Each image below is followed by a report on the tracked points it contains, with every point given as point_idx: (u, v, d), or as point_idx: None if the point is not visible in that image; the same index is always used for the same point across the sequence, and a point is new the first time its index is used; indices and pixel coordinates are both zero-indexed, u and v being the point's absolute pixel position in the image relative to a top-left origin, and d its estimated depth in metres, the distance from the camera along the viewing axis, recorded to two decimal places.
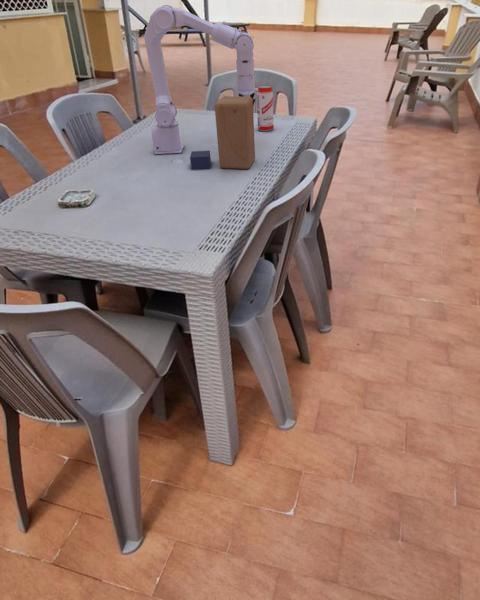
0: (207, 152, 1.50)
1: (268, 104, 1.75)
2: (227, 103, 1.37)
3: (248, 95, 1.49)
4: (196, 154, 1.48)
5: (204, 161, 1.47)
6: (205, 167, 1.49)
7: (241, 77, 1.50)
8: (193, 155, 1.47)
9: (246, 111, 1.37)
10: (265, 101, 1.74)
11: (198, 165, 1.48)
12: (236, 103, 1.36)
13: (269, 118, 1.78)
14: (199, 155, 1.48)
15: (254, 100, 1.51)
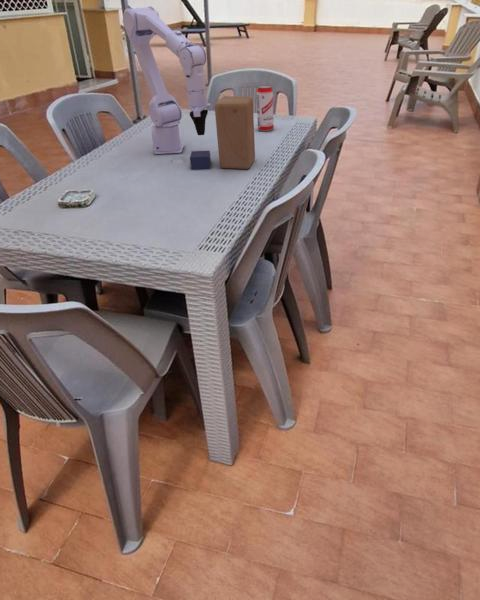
0: (207, 152, 1.50)
1: (268, 104, 1.75)
2: (227, 103, 1.37)
3: (198, 112, 1.40)
4: (196, 154, 1.48)
5: (204, 161, 1.47)
6: (205, 167, 1.49)
7: (191, 92, 1.41)
8: (193, 155, 1.47)
9: (246, 111, 1.37)
10: (265, 101, 1.74)
11: (198, 165, 1.48)
12: (236, 103, 1.36)
13: (269, 118, 1.78)
14: (199, 155, 1.48)
15: (206, 114, 1.45)
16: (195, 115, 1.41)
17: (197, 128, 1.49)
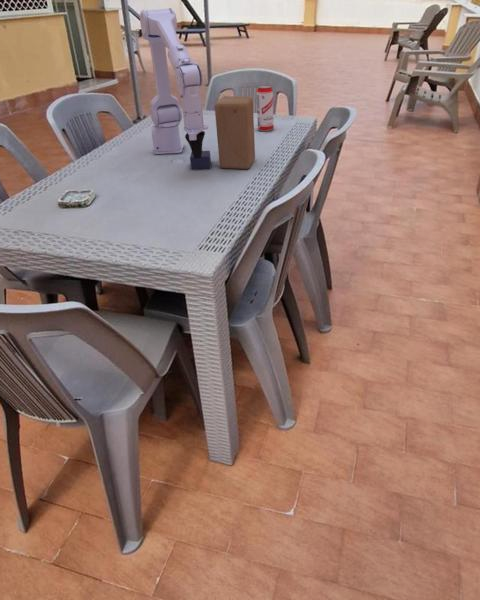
0: (207, 152, 1.50)
1: (268, 104, 1.75)
2: (227, 103, 1.37)
3: (194, 135, 1.31)
4: None
5: (204, 161, 1.47)
6: (205, 167, 1.49)
7: (186, 114, 1.32)
8: None
9: (246, 111, 1.37)
10: (265, 101, 1.74)
11: (198, 165, 1.48)
12: (236, 103, 1.36)
13: (269, 118, 1.78)
14: None
15: (203, 136, 1.36)
16: (191, 138, 1.31)
17: (193, 151, 1.40)
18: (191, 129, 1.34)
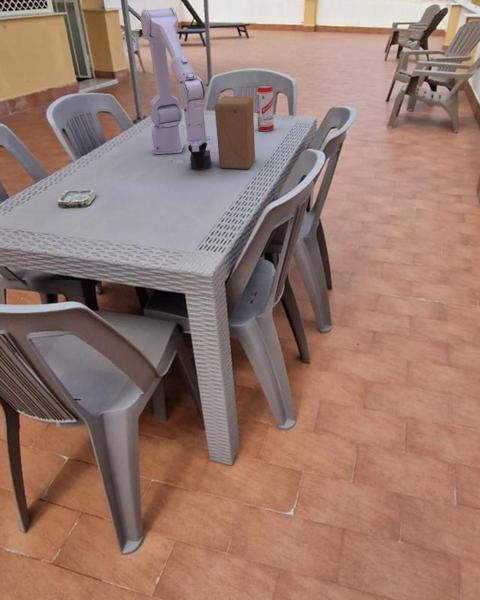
0: (207, 152, 1.50)
1: (268, 104, 1.75)
2: (227, 103, 1.37)
3: (197, 146, 1.36)
4: None
5: (204, 160, 1.48)
6: (205, 167, 1.49)
7: (189, 126, 1.38)
8: None
9: (246, 111, 1.37)
10: (265, 101, 1.74)
11: None
12: (236, 103, 1.36)
13: (269, 118, 1.78)
14: None
15: (205, 148, 1.41)
16: (194, 150, 1.37)
17: (196, 161, 1.45)
18: (194, 141, 1.40)
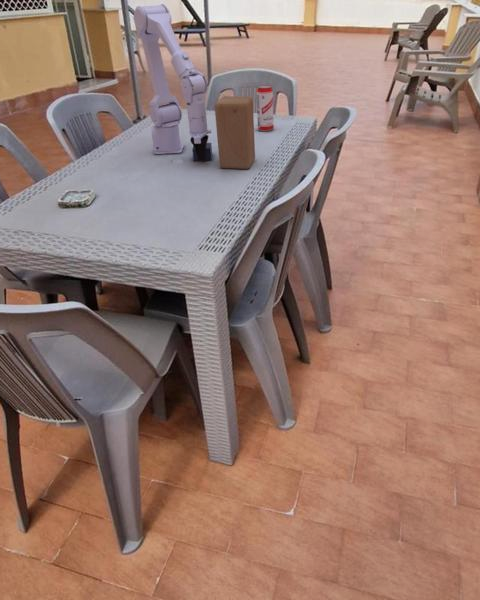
0: (208, 144, 1.57)
1: (268, 104, 1.75)
2: (227, 103, 1.37)
3: (199, 139, 1.43)
4: None
5: (206, 152, 1.54)
6: (207, 159, 1.55)
7: (192, 119, 1.44)
8: None
9: (246, 111, 1.37)
10: (265, 101, 1.74)
11: None
12: (236, 103, 1.36)
13: (269, 118, 1.78)
14: None
15: (206, 140, 1.48)
16: (196, 142, 1.44)
17: (198, 153, 1.52)
18: (196, 133, 1.46)
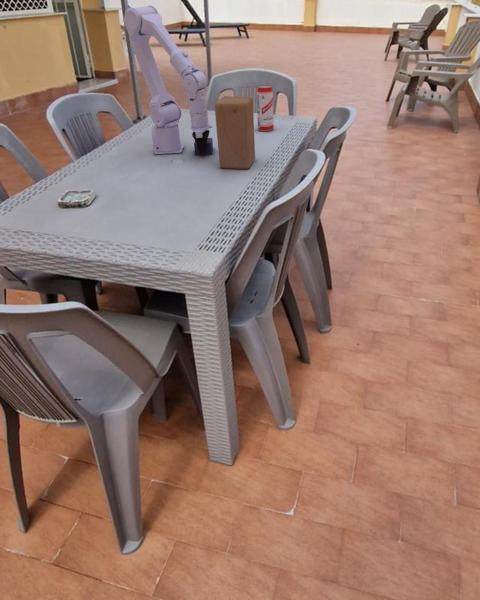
0: (210, 139, 1.62)
1: (268, 104, 1.75)
2: (227, 103, 1.37)
3: (200, 133, 1.48)
4: None
5: (207, 147, 1.59)
6: (208, 153, 1.60)
7: (193, 114, 1.49)
8: None
9: (246, 111, 1.37)
10: (265, 101, 1.74)
11: None
12: (236, 103, 1.36)
13: (269, 118, 1.78)
14: None
15: (207, 134, 1.53)
16: (197, 136, 1.49)
17: (199, 147, 1.57)
18: (197, 128, 1.51)
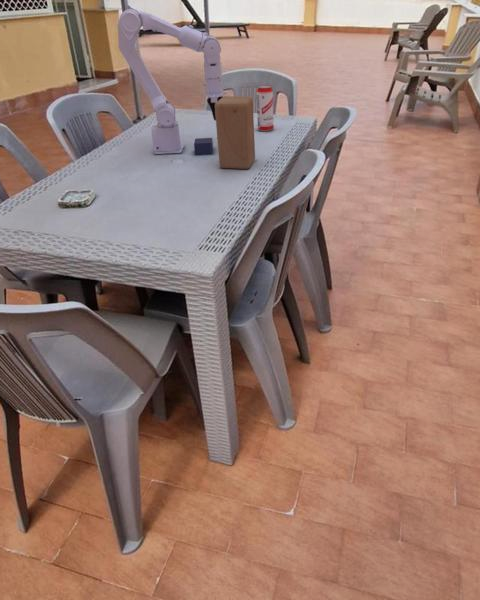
0: (210, 139, 1.62)
1: (268, 104, 1.75)
2: (227, 103, 1.37)
3: (215, 98, 1.51)
4: (200, 141, 1.60)
5: (207, 147, 1.59)
6: (208, 153, 1.60)
7: (209, 80, 1.53)
8: (196, 142, 1.59)
9: (246, 111, 1.37)
10: (265, 101, 1.74)
11: (202, 151, 1.60)
12: (236, 103, 1.36)
13: (269, 118, 1.78)
14: (202, 142, 1.59)
15: None
16: (213, 101, 1.52)
17: (214, 114, 1.60)
18: (212, 93, 1.55)
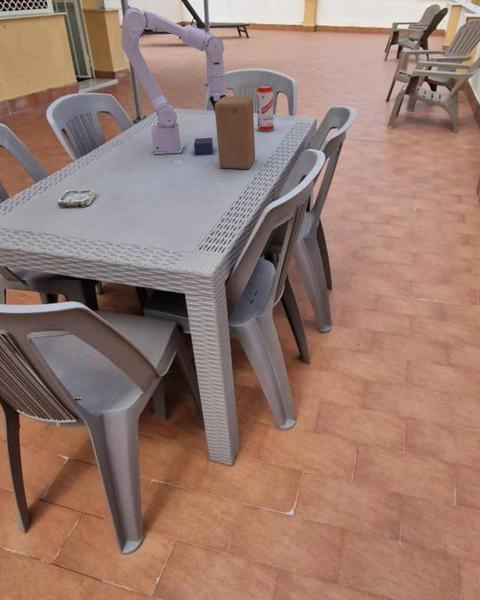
0: (210, 139, 1.62)
1: (268, 104, 1.75)
2: (227, 103, 1.37)
3: (218, 96, 1.53)
4: (200, 141, 1.60)
5: (207, 147, 1.59)
6: (208, 153, 1.60)
7: (211, 78, 1.54)
8: (196, 142, 1.59)
9: (246, 111, 1.37)
10: (265, 101, 1.74)
11: (202, 151, 1.60)
12: (236, 103, 1.36)
13: (269, 118, 1.78)
14: (202, 142, 1.59)
15: None
16: (215, 99, 1.54)
17: None
18: (215, 92, 1.56)
